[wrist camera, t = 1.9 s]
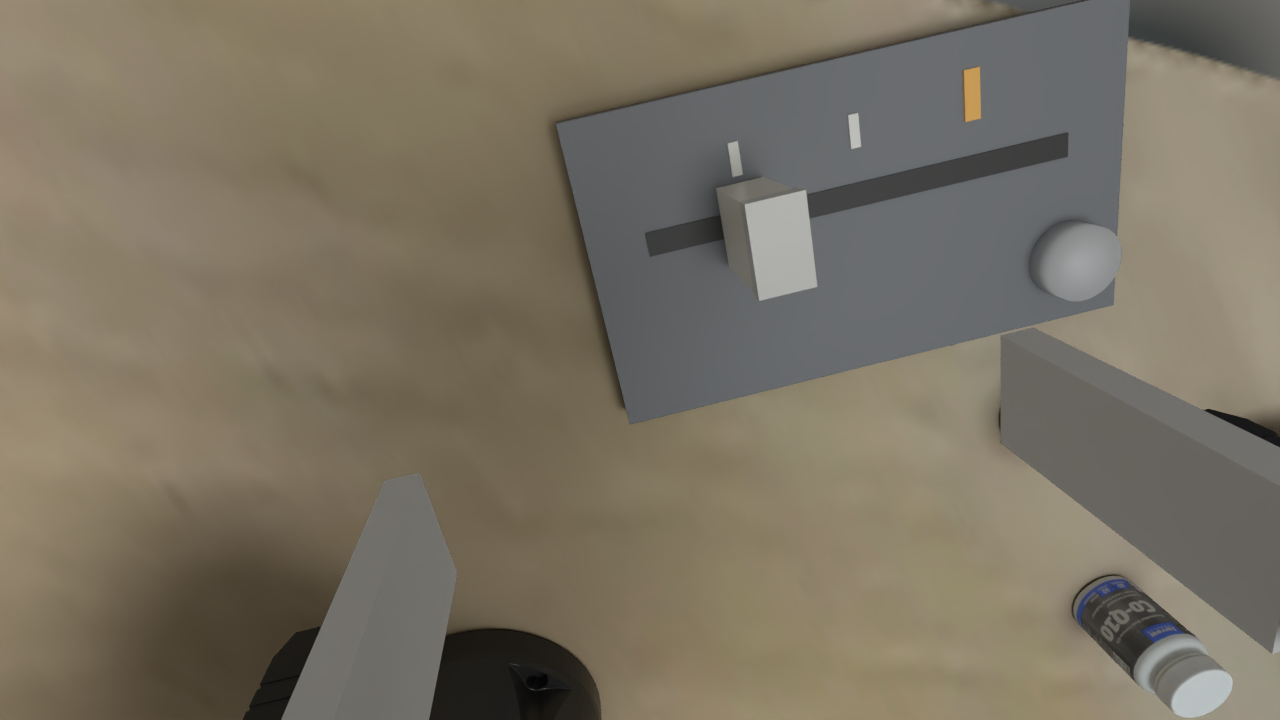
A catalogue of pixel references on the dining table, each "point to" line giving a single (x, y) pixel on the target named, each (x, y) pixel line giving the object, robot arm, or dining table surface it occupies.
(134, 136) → the dining table surface
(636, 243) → the console
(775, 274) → the fader knob
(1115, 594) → the pill bottle
